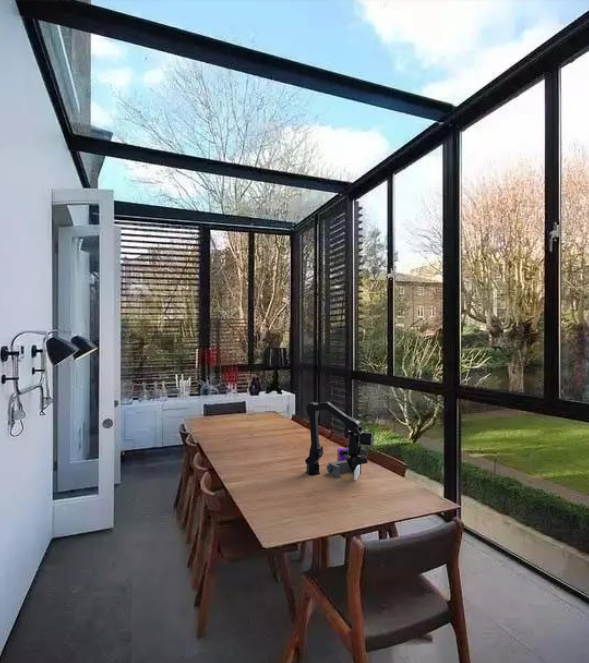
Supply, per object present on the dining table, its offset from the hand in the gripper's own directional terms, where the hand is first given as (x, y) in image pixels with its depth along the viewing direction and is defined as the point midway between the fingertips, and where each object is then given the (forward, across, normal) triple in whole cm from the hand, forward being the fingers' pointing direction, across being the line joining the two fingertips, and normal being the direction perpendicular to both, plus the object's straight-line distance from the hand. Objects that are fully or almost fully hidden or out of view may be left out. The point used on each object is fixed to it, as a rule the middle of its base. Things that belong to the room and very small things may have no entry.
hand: (352, 472), depth 231 cm
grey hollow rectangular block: (+4, +9, -1) cm, 10 cm away
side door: (+3, 0, -3) cm, 4 cm away
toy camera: (+4, +21, -10) cm, 24 cm away
